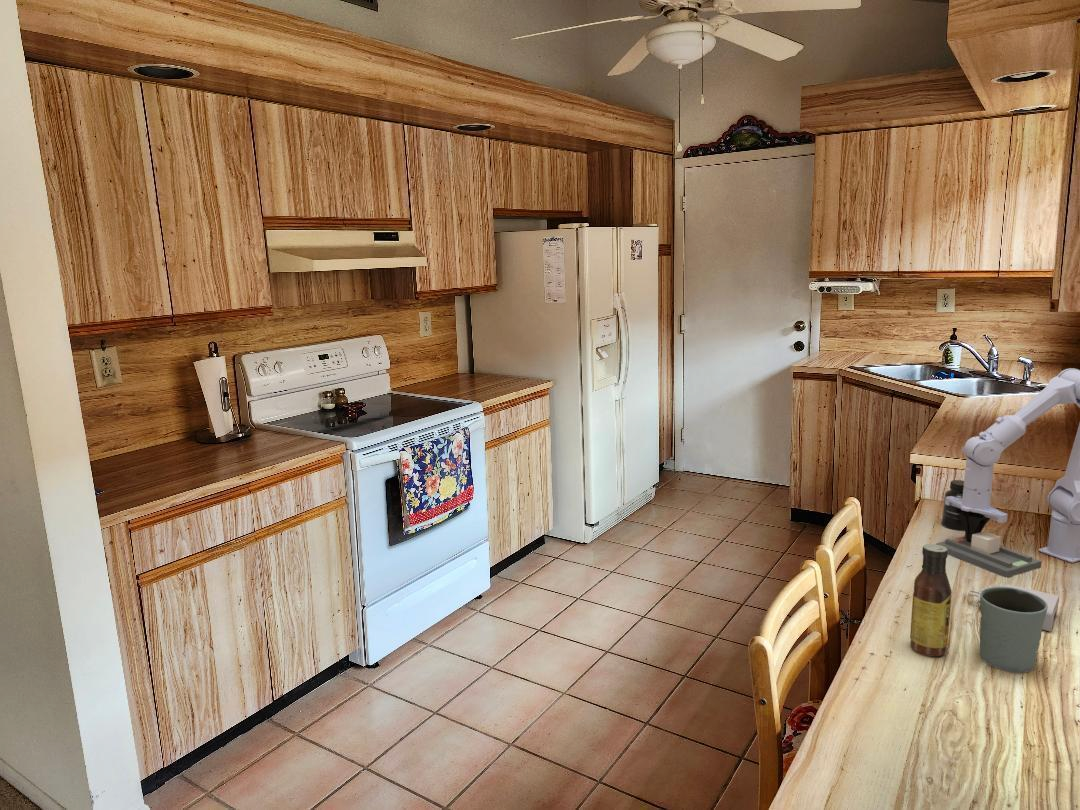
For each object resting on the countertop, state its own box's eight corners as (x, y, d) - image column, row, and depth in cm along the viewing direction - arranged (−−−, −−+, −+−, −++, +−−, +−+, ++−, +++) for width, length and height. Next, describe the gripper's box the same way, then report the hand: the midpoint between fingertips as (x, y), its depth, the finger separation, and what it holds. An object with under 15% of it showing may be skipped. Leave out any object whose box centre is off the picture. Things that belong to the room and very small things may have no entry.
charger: (973, 594, 161) (1057, 615, 151) (962, 611, 154) (1050, 634, 145) (975, 574, 160) (1060, 594, 150) (964, 589, 153) (1053, 611, 144)
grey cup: (1038, 654, 137) (1046, 593, 135) (1041, 682, 129) (1049, 617, 126) (974, 640, 142) (980, 581, 140) (973, 666, 134) (979, 604, 131)
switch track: (968, 540, 189) (969, 531, 188) (1041, 567, 173) (1042, 557, 172) (935, 549, 184) (936, 539, 184) (1006, 577, 168) (1007, 567, 168)
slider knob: (983, 545, 181) (984, 531, 181) (999, 551, 178) (1000, 536, 177) (970, 548, 180) (972, 534, 179) (986, 554, 176) (988, 540, 175)
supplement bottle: (944, 529, 196) (948, 485, 194) (939, 520, 203) (943, 477, 200) (974, 531, 194) (978, 487, 192) (967, 522, 201) (972, 479, 198)
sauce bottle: (951, 659, 136) (961, 556, 132) (914, 656, 138) (923, 554, 133) (940, 641, 143) (949, 542, 138) (904, 638, 144) (912, 540, 140)
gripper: (938, 481, 184) (933, 534, 186) (995, 499, 171) (989, 555, 173) (958, 477, 186) (953, 529, 189) (1015, 494, 173) (1009, 549, 176)
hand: (971, 541), depth 182 cm, fingers closed
